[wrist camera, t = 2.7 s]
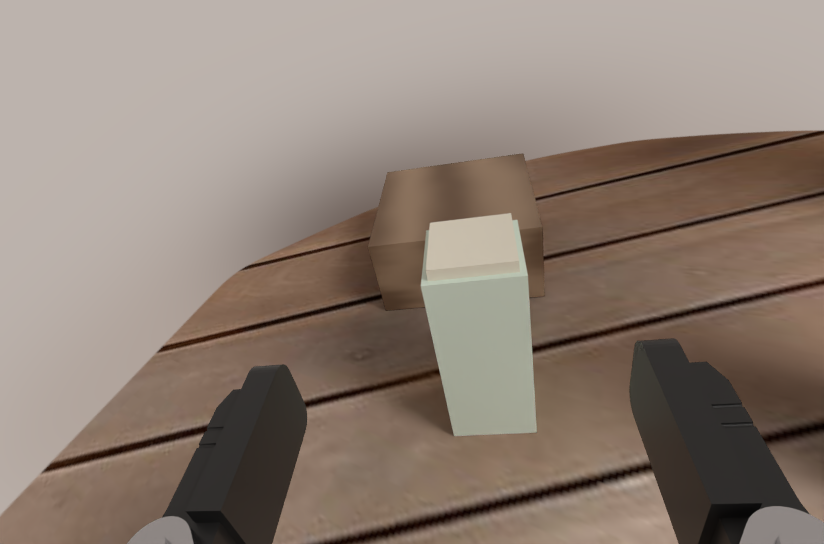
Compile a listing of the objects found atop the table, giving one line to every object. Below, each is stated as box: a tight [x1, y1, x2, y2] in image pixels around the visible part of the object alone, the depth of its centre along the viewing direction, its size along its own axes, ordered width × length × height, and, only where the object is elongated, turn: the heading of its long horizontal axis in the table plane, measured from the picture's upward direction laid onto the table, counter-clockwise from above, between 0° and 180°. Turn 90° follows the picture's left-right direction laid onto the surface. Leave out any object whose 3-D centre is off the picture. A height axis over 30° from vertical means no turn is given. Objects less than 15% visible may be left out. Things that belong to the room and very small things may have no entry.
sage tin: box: [421, 213, 537, 436], centre depth 26 cm, size 5×5×12 cm
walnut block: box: [368, 154, 545, 310], centre depth 40 cm, size 12×12×6 cm
